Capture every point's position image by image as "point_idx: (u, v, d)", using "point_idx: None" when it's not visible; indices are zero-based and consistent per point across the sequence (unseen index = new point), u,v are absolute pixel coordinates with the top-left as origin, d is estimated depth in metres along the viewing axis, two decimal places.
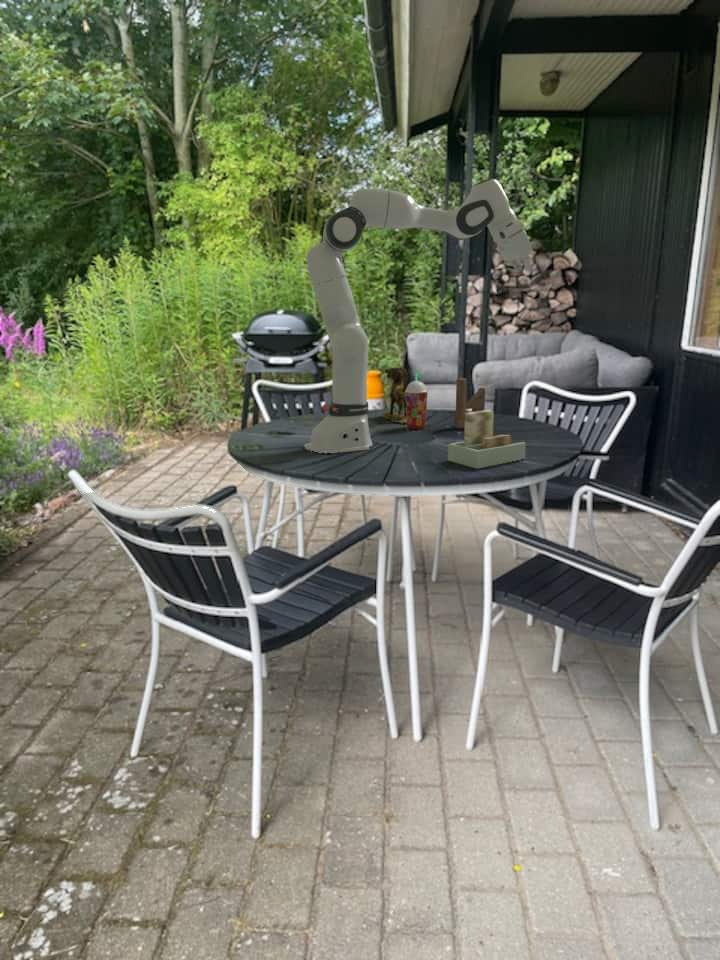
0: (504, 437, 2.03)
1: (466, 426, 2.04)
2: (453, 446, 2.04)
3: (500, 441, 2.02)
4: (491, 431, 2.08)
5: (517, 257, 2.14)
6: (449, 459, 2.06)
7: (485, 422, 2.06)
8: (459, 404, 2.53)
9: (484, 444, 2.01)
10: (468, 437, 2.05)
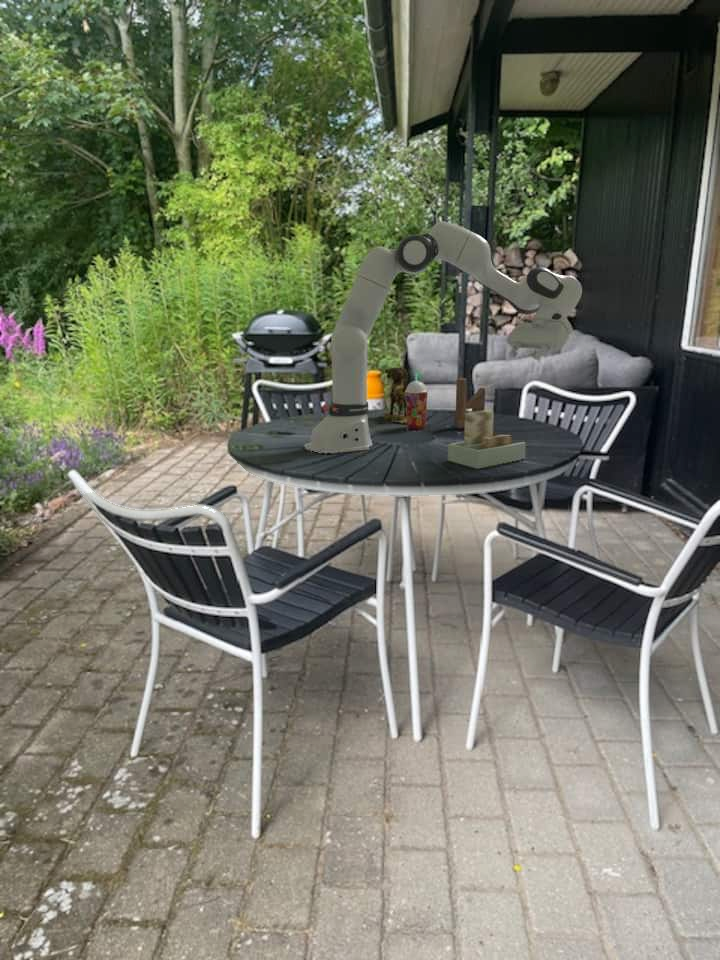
0: (504, 437, 2.03)
1: (466, 426, 2.04)
2: (453, 446, 2.04)
3: (500, 441, 2.02)
4: (491, 431, 2.08)
5: (542, 340, 2.07)
6: (449, 459, 2.06)
7: (485, 422, 2.06)
8: (459, 404, 2.53)
9: (484, 444, 2.01)
10: (468, 437, 2.05)
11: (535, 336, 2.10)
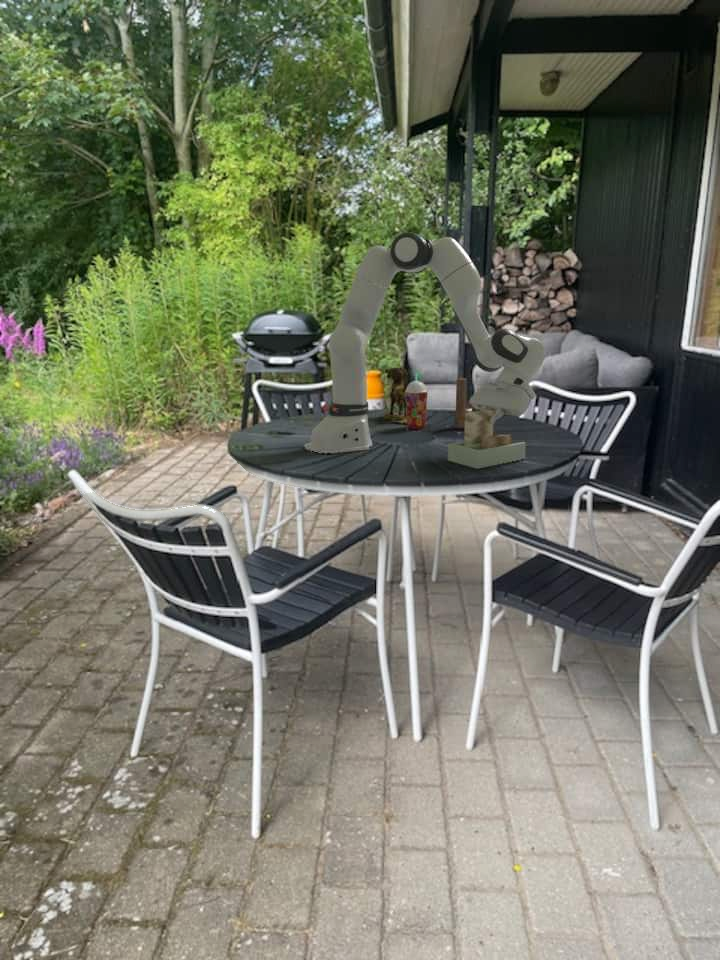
0: (504, 437, 2.03)
1: (466, 426, 2.04)
2: (453, 446, 2.04)
3: (500, 441, 2.02)
4: (491, 431, 2.08)
5: (504, 406, 2.04)
6: (449, 459, 2.06)
7: (485, 422, 2.06)
8: (459, 404, 2.53)
9: (484, 444, 2.01)
10: (468, 437, 2.05)
11: (497, 400, 2.07)
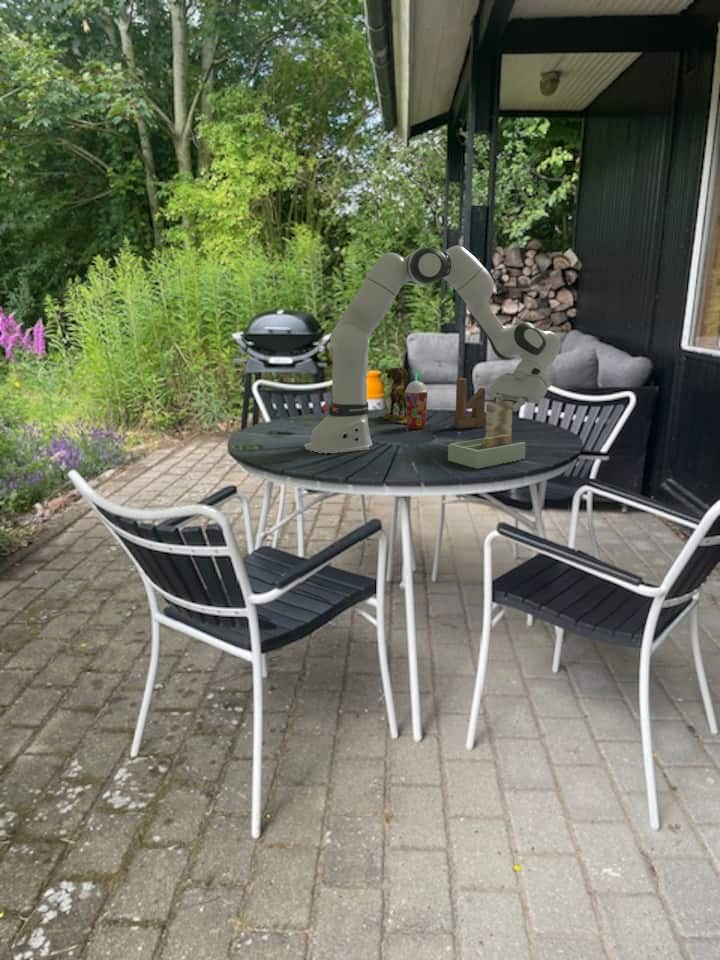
0: (504, 437, 2.03)
1: (487, 416, 2.21)
2: (453, 446, 2.04)
3: (500, 441, 2.02)
4: (510, 420, 2.25)
5: (522, 394, 2.20)
6: (449, 459, 2.06)
7: (505, 412, 2.23)
8: (459, 404, 2.53)
9: (484, 444, 2.01)
10: (489, 425, 2.21)
11: (516, 389, 2.23)
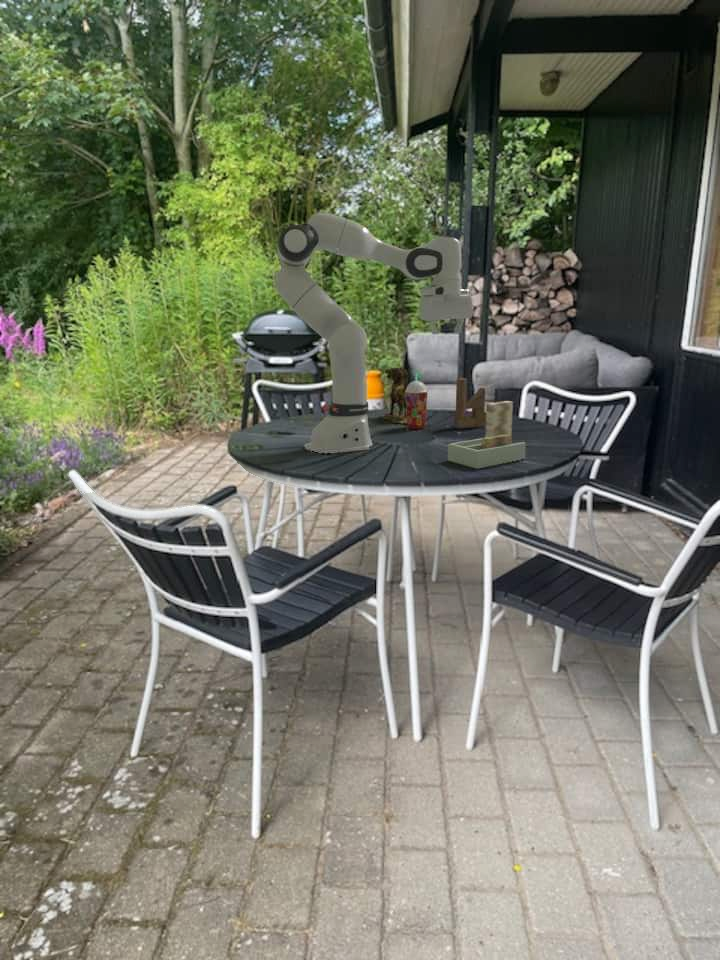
0: (504, 437, 2.03)
1: (487, 416, 2.21)
2: (453, 446, 2.04)
3: (500, 441, 2.02)
4: (510, 420, 2.25)
5: None
6: (449, 459, 2.06)
7: (505, 412, 2.23)
8: (459, 404, 2.53)
9: (484, 444, 2.01)
10: (489, 426, 2.21)
11: None
